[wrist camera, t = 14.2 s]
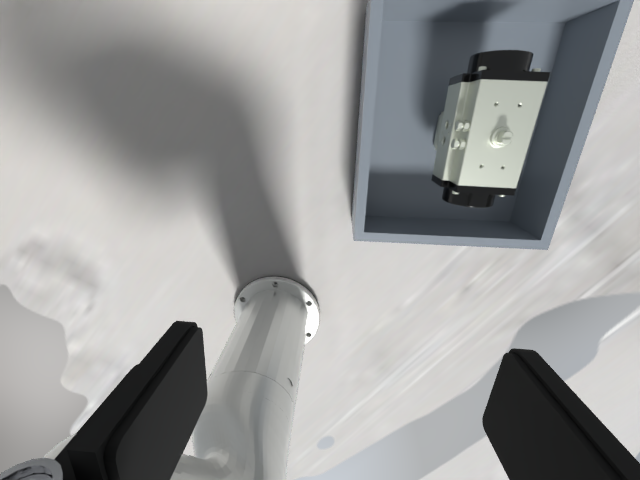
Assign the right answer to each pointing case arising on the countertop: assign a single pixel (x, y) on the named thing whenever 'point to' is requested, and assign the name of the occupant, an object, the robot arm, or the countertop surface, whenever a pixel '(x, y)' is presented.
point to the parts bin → (429, 101)
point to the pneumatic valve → (487, 127)
